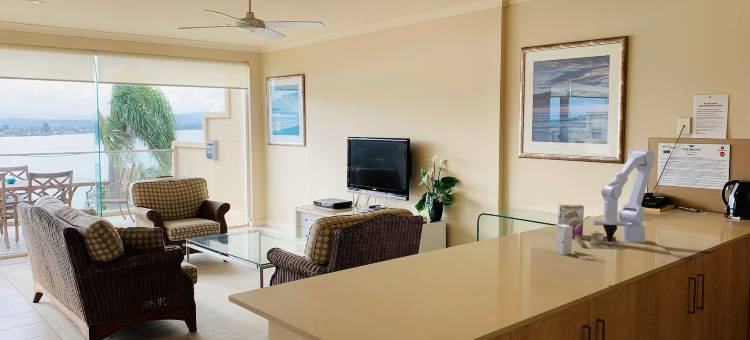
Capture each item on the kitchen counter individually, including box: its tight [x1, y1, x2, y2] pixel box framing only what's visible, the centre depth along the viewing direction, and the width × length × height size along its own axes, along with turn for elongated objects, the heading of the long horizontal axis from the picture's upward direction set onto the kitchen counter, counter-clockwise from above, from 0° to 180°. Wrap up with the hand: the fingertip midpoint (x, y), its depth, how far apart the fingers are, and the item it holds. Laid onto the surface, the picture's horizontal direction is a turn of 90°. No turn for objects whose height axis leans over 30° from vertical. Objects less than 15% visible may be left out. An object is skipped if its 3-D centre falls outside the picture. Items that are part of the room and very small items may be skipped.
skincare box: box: [554, 224, 573, 256], centre depth 251 cm, size 6×4×12 cm
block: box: [590, 230, 605, 245], centre depth 268 cm, size 5×5×5 cm
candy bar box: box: [557, 203, 585, 238], centre depth 284 cm, size 11×5×16 cm, turn 84°
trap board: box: [574, 234, 626, 251], centre depth 265 cm, size 18×20×3 cm
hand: (609, 241), depth 266 cm, fingers closed
